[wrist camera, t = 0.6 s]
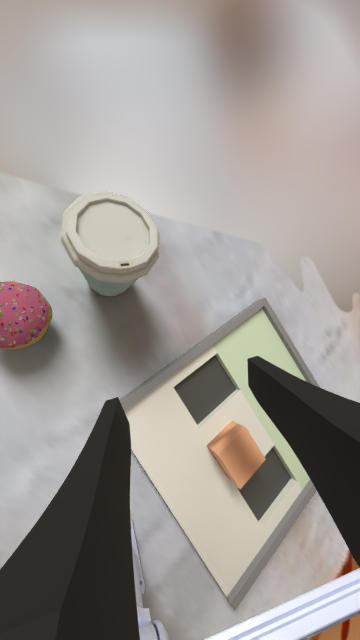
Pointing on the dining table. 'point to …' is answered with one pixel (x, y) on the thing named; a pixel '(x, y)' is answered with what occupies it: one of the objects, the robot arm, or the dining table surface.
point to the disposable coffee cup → (110, 240)
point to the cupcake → (22, 315)
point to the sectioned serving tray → (198, 462)
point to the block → (236, 453)
